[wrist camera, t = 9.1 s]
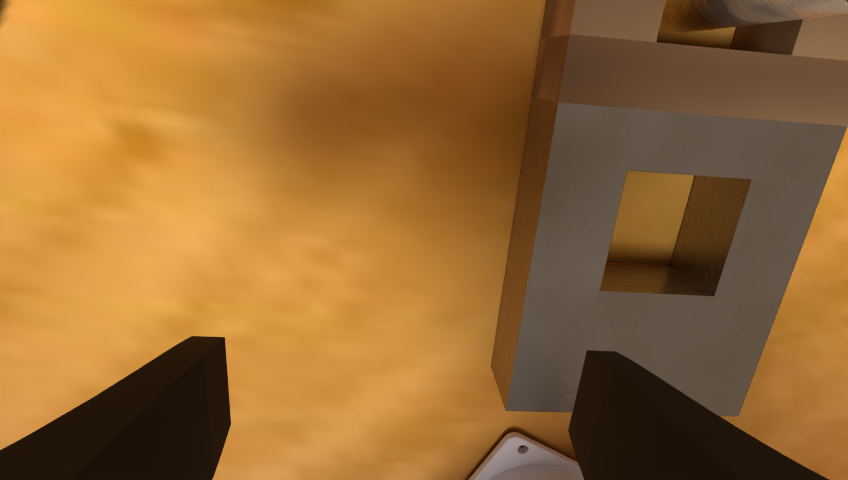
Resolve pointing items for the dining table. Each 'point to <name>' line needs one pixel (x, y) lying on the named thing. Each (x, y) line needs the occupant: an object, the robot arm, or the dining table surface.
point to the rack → (692, 64)
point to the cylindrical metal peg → (742, 12)
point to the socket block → (653, 283)
